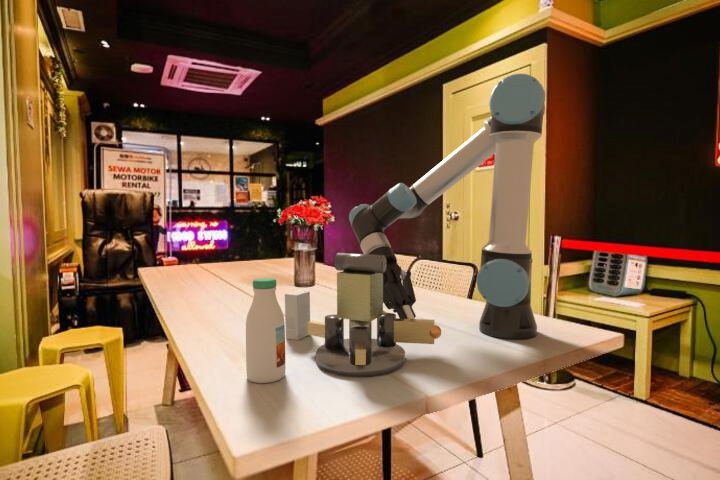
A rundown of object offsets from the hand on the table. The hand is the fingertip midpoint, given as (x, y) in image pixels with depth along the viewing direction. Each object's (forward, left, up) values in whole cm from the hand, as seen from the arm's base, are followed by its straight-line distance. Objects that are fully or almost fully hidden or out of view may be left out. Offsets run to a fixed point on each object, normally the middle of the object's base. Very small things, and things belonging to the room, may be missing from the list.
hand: (414, 331), depth 100 cm
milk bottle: (+22, +27, -5) cm, 35 cm away
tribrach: (+11, +12, -5) cm, 17 cm away
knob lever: (0, +3, -3) cm, 4 cm away
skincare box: (+32, +1, -5) cm, 33 cm away
